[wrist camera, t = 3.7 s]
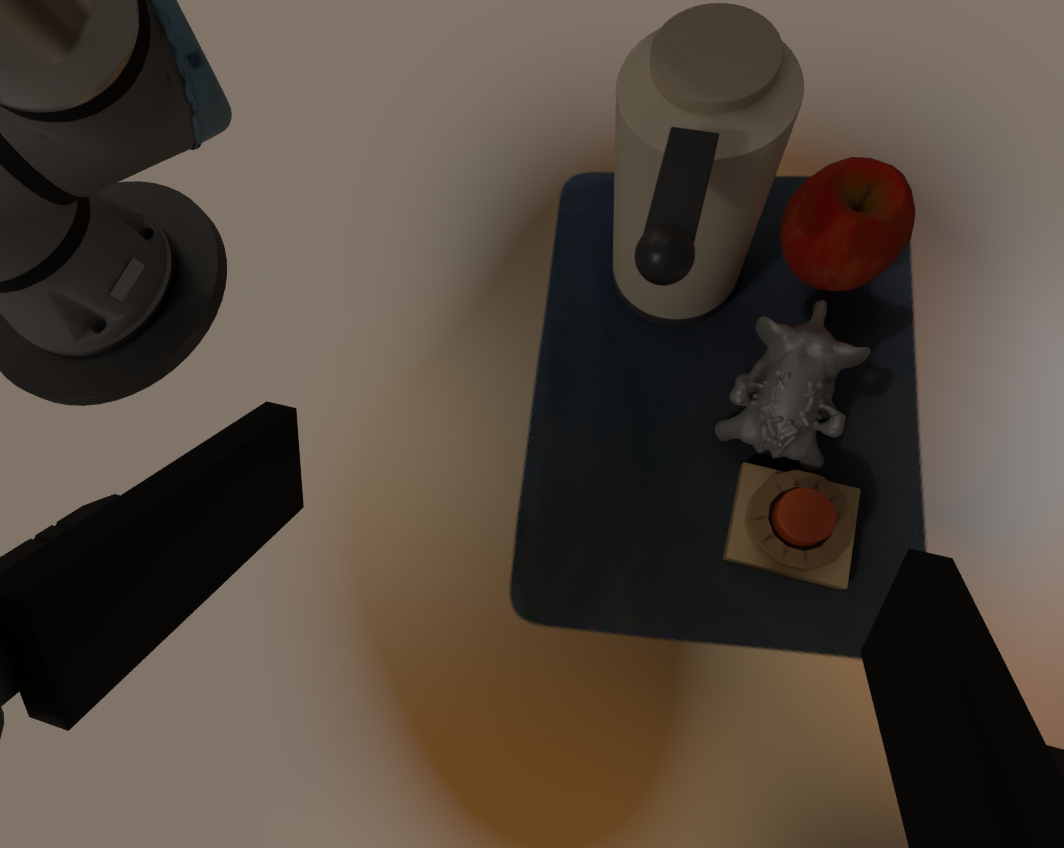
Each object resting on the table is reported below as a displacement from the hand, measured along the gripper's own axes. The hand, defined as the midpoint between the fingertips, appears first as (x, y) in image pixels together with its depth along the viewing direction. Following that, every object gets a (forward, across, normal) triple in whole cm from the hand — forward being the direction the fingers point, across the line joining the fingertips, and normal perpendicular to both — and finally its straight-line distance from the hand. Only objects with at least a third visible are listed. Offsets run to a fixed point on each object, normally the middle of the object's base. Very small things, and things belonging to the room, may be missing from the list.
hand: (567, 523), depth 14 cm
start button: (+28, +12, -16) cm, 34 cm away
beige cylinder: (+43, 0, -4) cm, 43 cm away
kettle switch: (+23, 0, +3) cm, 23 cm away
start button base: (+30, +12, -17) cm, 37 cm away
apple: (+44, +11, -3) cm, 46 cm away
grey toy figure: (+37, +10, -11) cm, 40 cm away
